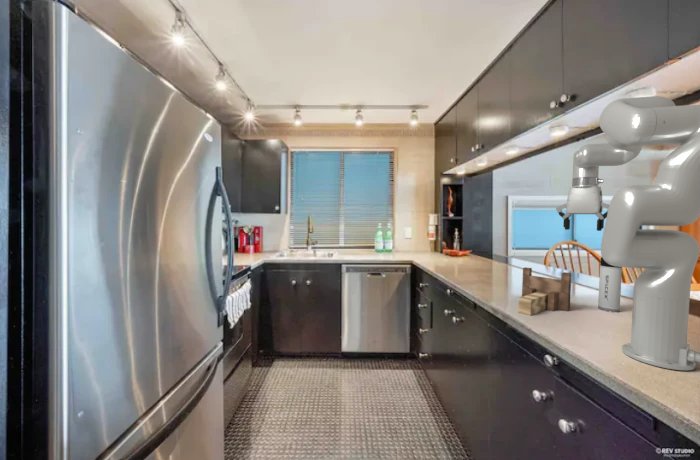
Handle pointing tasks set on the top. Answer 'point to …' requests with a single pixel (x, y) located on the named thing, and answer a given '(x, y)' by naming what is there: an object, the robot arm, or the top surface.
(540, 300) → the rail
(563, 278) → the headboard
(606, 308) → the travel mug
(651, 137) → the robot arm
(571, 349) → the top surface
